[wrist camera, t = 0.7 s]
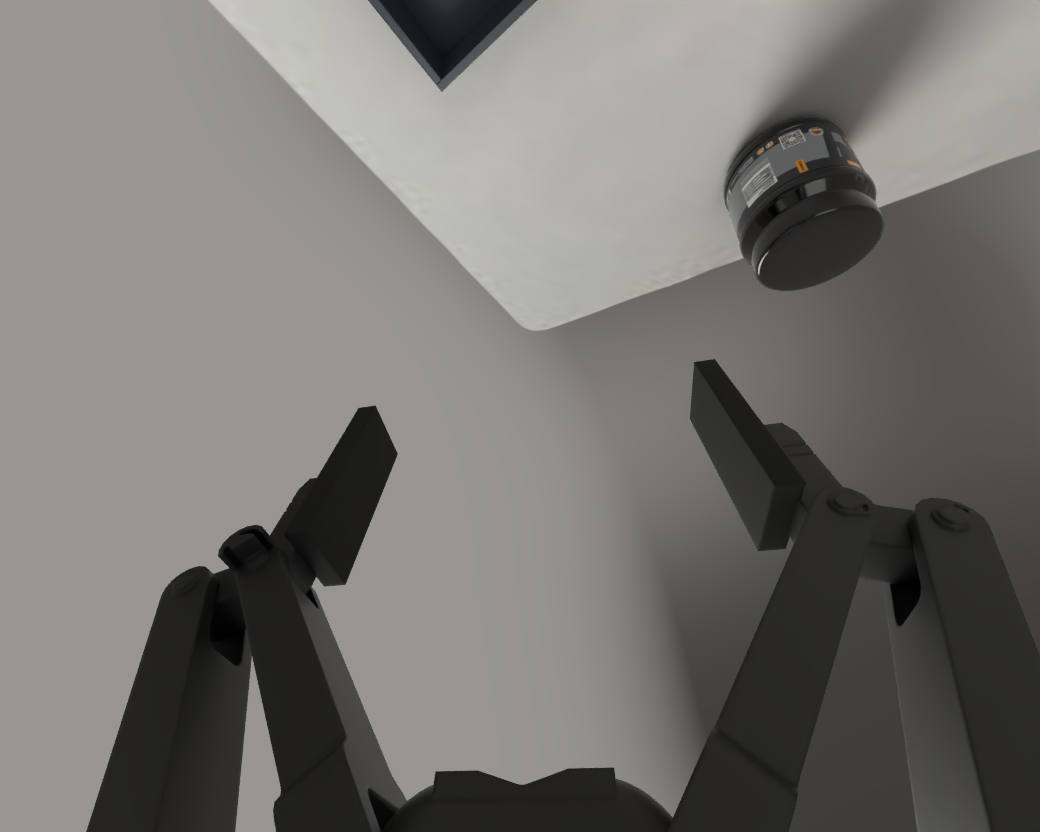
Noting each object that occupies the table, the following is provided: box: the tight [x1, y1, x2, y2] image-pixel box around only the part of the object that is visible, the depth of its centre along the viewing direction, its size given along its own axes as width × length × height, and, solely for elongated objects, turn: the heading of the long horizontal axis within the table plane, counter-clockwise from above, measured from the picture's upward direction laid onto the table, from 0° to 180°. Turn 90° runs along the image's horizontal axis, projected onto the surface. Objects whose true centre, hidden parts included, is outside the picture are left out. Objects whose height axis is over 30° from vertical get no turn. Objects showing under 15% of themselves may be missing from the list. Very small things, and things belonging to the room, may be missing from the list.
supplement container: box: [724, 116, 884, 291], centre depth 39 cm, size 10×10×12 cm
